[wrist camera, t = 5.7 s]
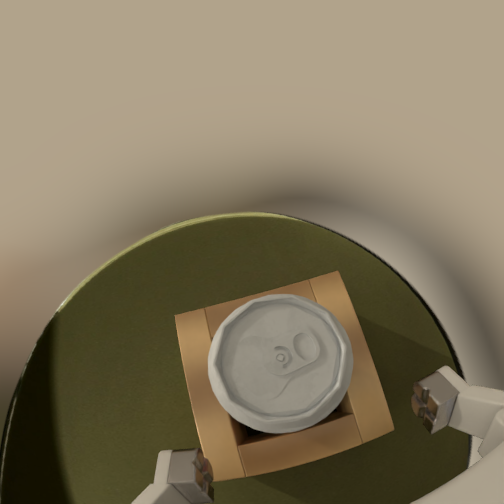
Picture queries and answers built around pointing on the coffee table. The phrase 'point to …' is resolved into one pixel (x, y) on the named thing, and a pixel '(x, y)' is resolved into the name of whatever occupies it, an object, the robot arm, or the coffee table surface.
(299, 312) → the beer can
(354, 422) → the holder
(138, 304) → the coffee table surface
